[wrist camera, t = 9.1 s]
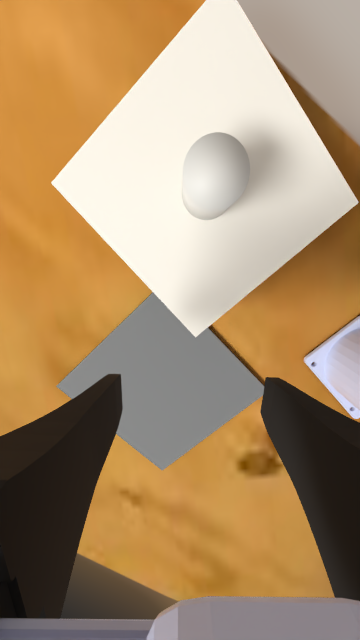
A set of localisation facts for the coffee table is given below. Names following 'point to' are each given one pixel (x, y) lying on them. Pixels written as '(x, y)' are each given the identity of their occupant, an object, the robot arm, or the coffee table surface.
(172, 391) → the mat
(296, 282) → the coffee table surface
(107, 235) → the lid
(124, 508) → the coffee table surface
